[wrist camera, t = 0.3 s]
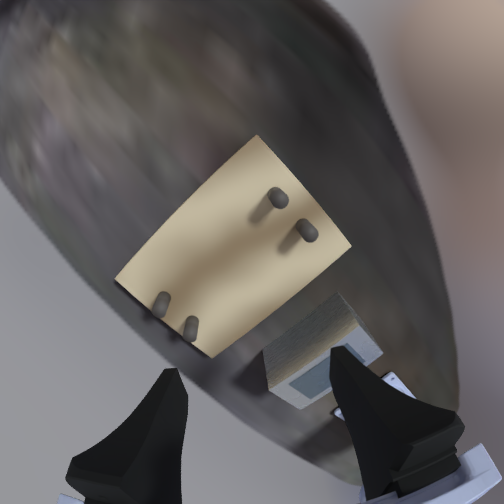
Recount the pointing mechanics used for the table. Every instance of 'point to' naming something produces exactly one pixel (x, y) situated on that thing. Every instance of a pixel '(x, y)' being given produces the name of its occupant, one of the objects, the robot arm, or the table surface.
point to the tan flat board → (234, 251)
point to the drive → (316, 351)
